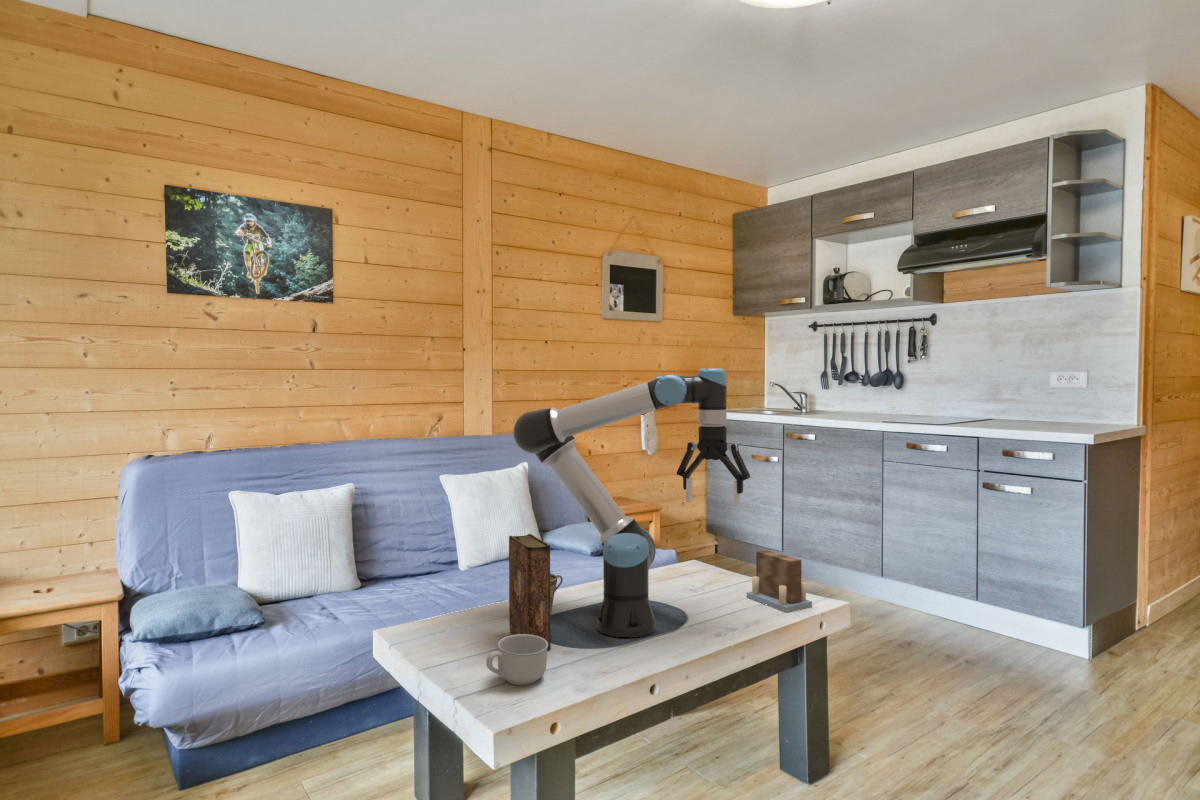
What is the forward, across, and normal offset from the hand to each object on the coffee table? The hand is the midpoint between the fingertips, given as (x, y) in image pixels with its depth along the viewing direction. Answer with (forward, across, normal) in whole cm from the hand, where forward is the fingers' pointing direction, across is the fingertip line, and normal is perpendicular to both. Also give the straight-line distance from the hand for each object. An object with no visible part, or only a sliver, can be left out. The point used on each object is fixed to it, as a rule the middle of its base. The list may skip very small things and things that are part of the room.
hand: (712, 503), depth 187 cm
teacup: (+31, +21, +60) cm, 71 cm away
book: (+31, +32, +40) cm, 60 cm away
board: (+29, -12, -21) cm, 38 cm away
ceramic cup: (+31, +42, +20) cm, 56 cm away
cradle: (+31, -12, -21) cm, 39 cm away
